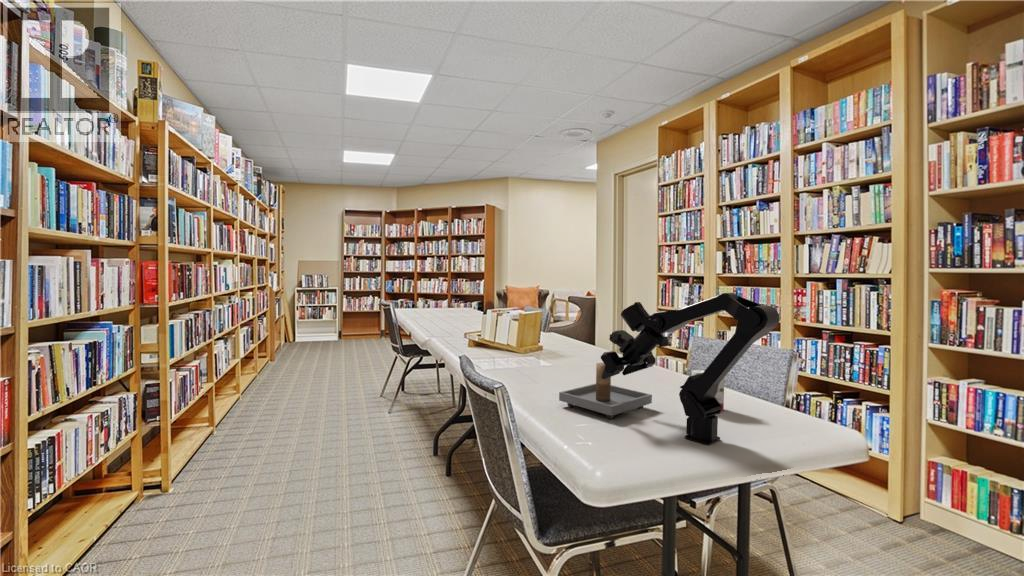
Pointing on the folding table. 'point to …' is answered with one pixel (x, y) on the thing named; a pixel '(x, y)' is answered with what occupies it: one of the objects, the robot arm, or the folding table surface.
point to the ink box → (720, 391)
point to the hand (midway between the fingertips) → (613, 376)
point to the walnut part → (602, 384)
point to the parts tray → (618, 402)
